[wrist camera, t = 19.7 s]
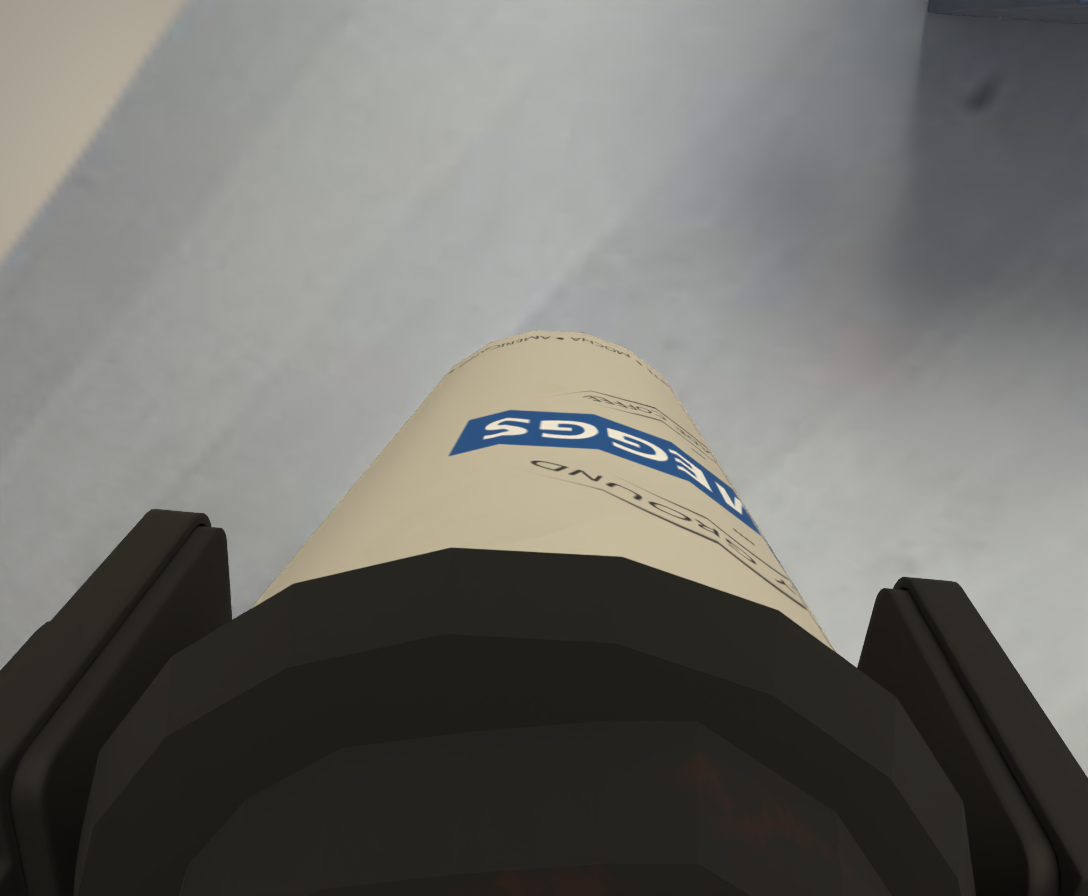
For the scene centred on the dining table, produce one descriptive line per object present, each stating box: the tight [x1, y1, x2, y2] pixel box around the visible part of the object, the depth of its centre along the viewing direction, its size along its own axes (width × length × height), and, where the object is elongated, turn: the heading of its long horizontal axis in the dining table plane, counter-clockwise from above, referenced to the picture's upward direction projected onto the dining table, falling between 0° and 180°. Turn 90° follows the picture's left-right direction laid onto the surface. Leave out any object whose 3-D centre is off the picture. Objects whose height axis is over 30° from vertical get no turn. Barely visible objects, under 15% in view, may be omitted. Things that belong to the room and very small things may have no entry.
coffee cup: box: [73, 330, 976, 896], centre depth 11 cm, size 7×7×10 cm
